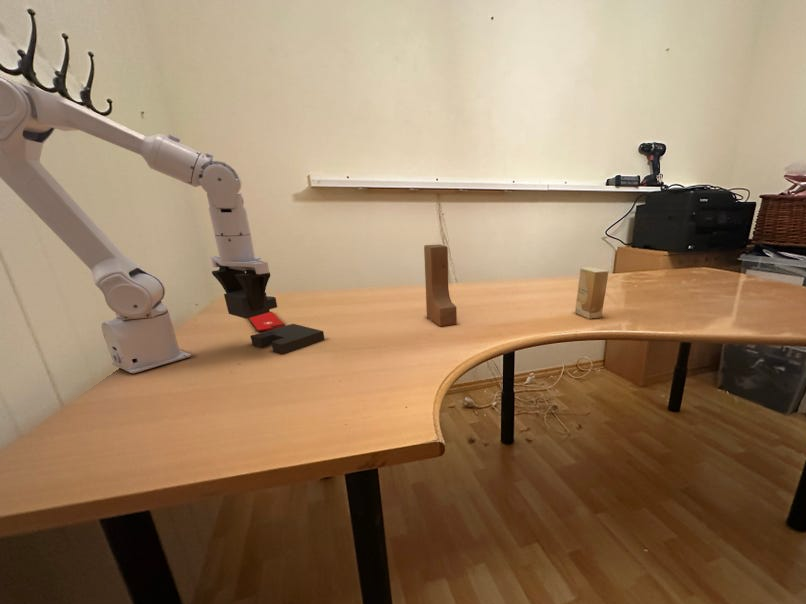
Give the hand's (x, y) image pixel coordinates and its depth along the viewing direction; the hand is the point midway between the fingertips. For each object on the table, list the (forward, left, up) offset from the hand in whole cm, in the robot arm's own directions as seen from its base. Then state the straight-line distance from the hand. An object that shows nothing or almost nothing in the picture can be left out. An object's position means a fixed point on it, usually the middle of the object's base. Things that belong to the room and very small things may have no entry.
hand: (248, 307), depth 78 cm
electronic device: (+12, +14, -8) cm, 20 cm away
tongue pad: (+2, 0, -1) cm, 2 cm away
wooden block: (+36, -21, -9) cm, 42 cm away
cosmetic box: (+61, -51, -9) cm, 79 cm away
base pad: (+6, -3, -8) cm, 10 cm away
